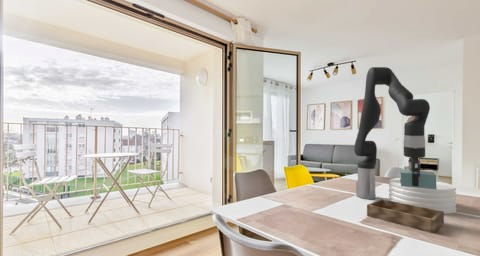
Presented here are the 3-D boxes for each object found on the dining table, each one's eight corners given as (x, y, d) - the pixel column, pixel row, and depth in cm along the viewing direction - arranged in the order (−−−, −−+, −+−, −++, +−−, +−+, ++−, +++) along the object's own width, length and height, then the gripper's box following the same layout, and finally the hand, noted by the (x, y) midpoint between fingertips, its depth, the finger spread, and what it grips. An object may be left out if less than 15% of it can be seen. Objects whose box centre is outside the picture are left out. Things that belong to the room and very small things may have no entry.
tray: (367, 215, 107) (367, 204, 107) (381, 208, 117) (380, 198, 117) (434, 233, 89) (433, 220, 89) (443, 223, 99) (443, 211, 99)
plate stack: (471, 215, 109) (471, 190, 109) (403, 211, 114) (403, 187, 114) (434, 199, 136) (434, 179, 136) (381, 196, 142) (381, 177, 142)
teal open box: (433, 171, 102) (400, 169, 108) (436, 175, 97) (400, 172, 103) (433, 185, 102) (400, 182, 108) (436, 189, 97) (401, 186, 103)
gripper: (402, 143, 110) (402, 178, 111) (405, 147, 98) (405, 187, 99) (422, 143, 106) (422, 180, 107) (428, 148, 94) (428, 189, 95)
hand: (414, 183), depth 103 cm, fingers closed on teal open box, 6 cm apart
